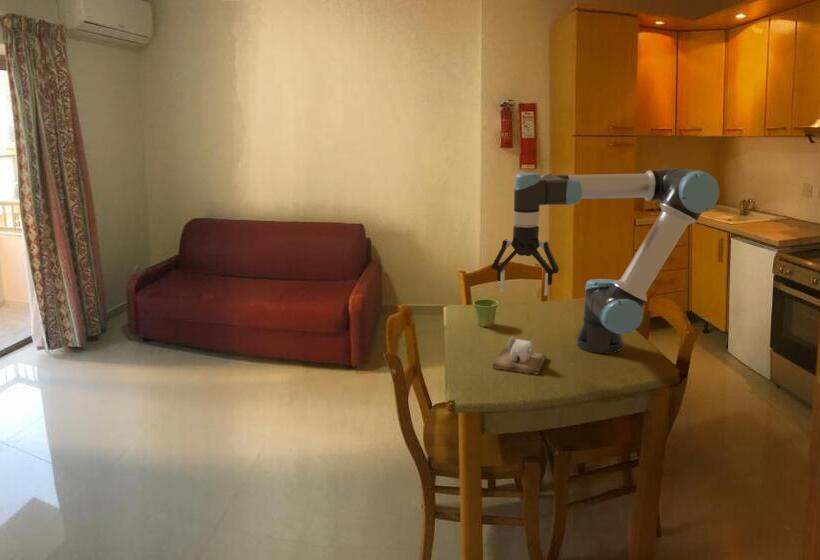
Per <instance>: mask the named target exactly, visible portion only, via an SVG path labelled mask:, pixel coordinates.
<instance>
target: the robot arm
mask: <svg viewBox="0 0 820 560" xmlns="http://www.w3.org/2000/svg"><path fill="white" fill-rule="evenodd" d="M513 192H514V193H513V195H514V196H513V207H514V208H513V224H514V225H513V229H512V230H513V233H512V240H508V239H507V238H505V239H503V240H502V245H501V248H500V250H499V252H498V253H497V256H496V258H495V259H494V261H493V262H492V264H491V269H492V270H496V274H497V275H496V276H497V277H496V278H497V279H496V280H497V281H498V282H500V284H499V285H500V287H499V289H500V290H499V293H503V292H504V291H505V285H506V284H505V280H506V279H505V277H506V276H505V275H506V274H505V272H506V271H505V269H504V268H505V267H506V266H507V265H508V263H510V261H511V260H512V259H513V258H515V257H516V255H519V256H526V257H531V256H532V257H533V259H534V258H535V259H536V261H537V262H538V263H539V265H540V266H541V267H542V268H543V270H544V271H545V272H546V273H545V274H544V293H543V295H544V296H545V297H547V296H548V295H549V286H551V285H552V283H553V275H554V274H558V272H559V270H560V268H559V266H558V263H557V262H556V260H555V258H554V255H553V254H552V251H551V249H550V242H549V241H547V240H546V241H542V242H541V241H539V231H540V227H539V223H540V206H551V205H554V206H555V205H557V206H558V205H559V206H560V205H561V206H564V205H565V206H570V205H578V204H579V203H580V201H581V199H637V198H638V199H639V198H640V199H641V198H642V199H644V200H645V201H647V202H649V201H650V202H660V203H659V205H660V209H661V211H660V213H659V215H658V217H657V218H656V220H655V221H654V223H653V225H651V228H650V230H649V231H648V233H647V234H646V236H645V238H644V239H643V241H642V243H641V244H640V246H639V248H637V249H638V250H637V251H636V252H635V254H634V256H633V258H632V259H631V261H630V263H629V264H628V266H627V268H625V269H626V270H625V271H624V272H623V274H622V276H621V277H620V279H613V278H612V279H611V278H610V279H609V278H593V279H589V280H587V281H586V283H585V289H584V305H583V307H584V308H583V319H582V324H581V327H580V330H579V331H578V334H577V336H576V346H577V347H578V348H579V349H581V350H584V351H587V352H590V351H592V352H591V353H595V352H599V353H598V354H608V353H607V352H615V351H618V350H620V349H622V348H624V339H623V335H625V334H628V333H632V332H633V331H635V330H636V329H638V328H639V327H640V325H641V323H642V321H643V318H644V314H643V313H644V312H643V308H644V306H645V305H646V303H647V302H648V299H647V298H648V297H647V291H648V290H649V288H650V287H651V285H652V283H653V282H654V280H655V279H656V277H657V275H658V274H659V272H661V271H660V270H661V269H662V268H663V266H664V264H665V263H666V261H667V260H668V258H669V256H670V254H671V253H672V252H673V250H674V248H675V246H676V245H677V243H678V242H679V240H680V239H681V237H682V235H683V234H684V232H685V230H686V229H687V227H688V226H689V225H690V224H695V223H697V221H698V219H699V218H700V216H701V215H702V213H706V212H708V211H710V210H712V208H713V207H715V205H716V204H717V202H718V200H719V197H720V187H719V183H718V182H717V180H716V178H715V177H714V176H712V174H710V173H707V172H705V171H702V170H699V169H690V168H685V167H675V168H667V169H666V168H665V169H663V168H662V169H651V170H647V171H646V172H645V173H612V174H609V173H606V174H605V173H603V174H600V173H599V174H597V173H596V174H567V175H566V174H557V175H556V174H552V173H547V174H543V175H541V174H540V173H538V172H520V173H517V174H516V175H515V177H514V188H513ZM510 245H511V246H512V249H514V250H513V251H512V252H511V253H510V254H509V255H508V257H506V259H505V260H504V261H503V262H502V263H501V264H499V263H500V261H501V259H502V257H503V256H504V254H505V252H506V250H507V248H509V247H510ZM539 247H541V249H542V250H543V251H544V253H545V256H546V258H547V260H548V262H549V264H550V265H549V264H548V262H547V261H546V260H545V259H544V257H543V256H542V255H541V253H540V252H539V250H538V248H539ZM622 350H623V349H622ZM615 353H616V352H615Z"/></svg>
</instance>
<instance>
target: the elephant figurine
mask: <svg viewBox="0 0 820 560" xmlns="http://www.w3.org/2000/svg"><path fill="white" fill-rule="evenodd" d="M506 345H507V349H510V350H511V354H510V355H511V360H513V361H517V358H519V357H520V362H523V363H524V362H526V360H528V359H529V356H530V352H533V339H531V340H525V339H519V338H515V337H514V336H513V335H511V336H510V337H509V339H508V341H507V344H506Z"/></svg>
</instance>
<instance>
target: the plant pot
mask: <svg viewBox="0 0 820 560" xmlns="http://www.w3.org/2000/svg"><path fill="white" fill-rule="evenodd" d="M472 304H473V306H474V309H475V310H474V311H475V315H476V316H475V317H476V324H477V326H479V327H481V328H483V327H487V328H490V327H493V326H494V325H495V318H496V313H497V312H496V311H497V308H498V306H499V305H500V303H499V302H498V301H497V300H495V299H489V298H482V299H481V298H480V299H476V300H474V301H473V302H472Z"/></svg>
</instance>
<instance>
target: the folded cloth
mask: <svg viewBox="0 0 820 560" xmlns="http://www.w3.org/2000/svg"><path fill="white" fill-rule="evenodd" d="M510 354H511V350H510V349H509V348H503V349H502V351H500V353H499V354H498V356H497V357H496V359H495V361H493V363H492V369H493V368H494V369H495V370H500V369H503V370H502V371H508V370H509V372H515V371H517V372H516V373H522V372H524V374H529V373H539V374H540V372H541V370H542V368H543V366H544V364H543V363H545V362H544V361H546V359H547V354H546V353H542V352H541V353H540V352H534V351H532V352H530V356H529V359H528V360H526V362H524V363H523V362H520V357H519V358H517V361H513V360H511V355H510ZM542 365H543V366H542ZM541 367H542V368H541ZM540 369H541V370H540ZM539 371H540V372H539Z"/></svg>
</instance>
